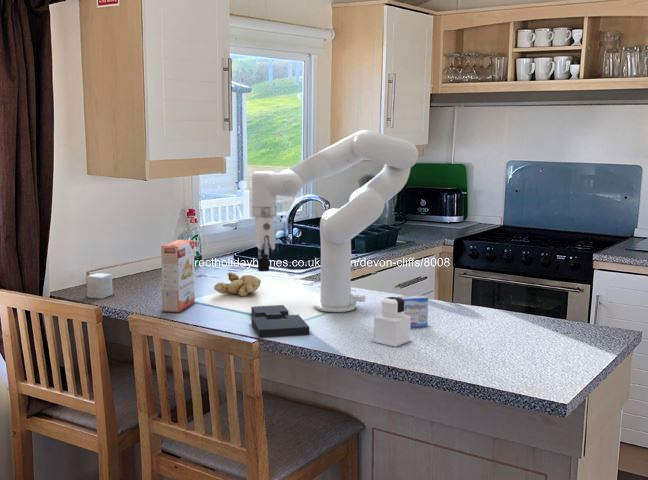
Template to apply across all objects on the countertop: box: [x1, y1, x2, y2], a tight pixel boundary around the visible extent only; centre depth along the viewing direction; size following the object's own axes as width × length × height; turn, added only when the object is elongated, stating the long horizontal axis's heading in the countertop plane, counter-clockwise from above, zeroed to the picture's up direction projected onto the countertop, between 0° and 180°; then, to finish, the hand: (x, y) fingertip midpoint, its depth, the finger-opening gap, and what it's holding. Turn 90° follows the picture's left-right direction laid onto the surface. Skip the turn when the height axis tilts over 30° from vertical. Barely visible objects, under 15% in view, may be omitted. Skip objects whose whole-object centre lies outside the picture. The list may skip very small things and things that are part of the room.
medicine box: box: [398, 294, 429, 329], centre depth 220 cm, size 8×4×9 cm, turn 105°
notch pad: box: [251, 314, 310, 339], centre depth 216 cm, size 14×14×2 cm
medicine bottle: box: [373, 296, 411, 348], centre depth 203 cm, size 7×7×12 cm
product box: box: [86, 272, 114, 300], centre depth 256 cm, size 6×6×7 cm
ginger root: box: [213, 271, 262, 297], centre depth 262 cm, size 16×16×8 cm
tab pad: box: [251, 304, 290, 320], centre depth 230 cm, size 10×11×2 cm
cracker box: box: [160, 239, 196, 313], centre depth 240 cm, size 14×6×21 cm, turn 168°
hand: (263, 270), depth 237 cm, fingers closed
